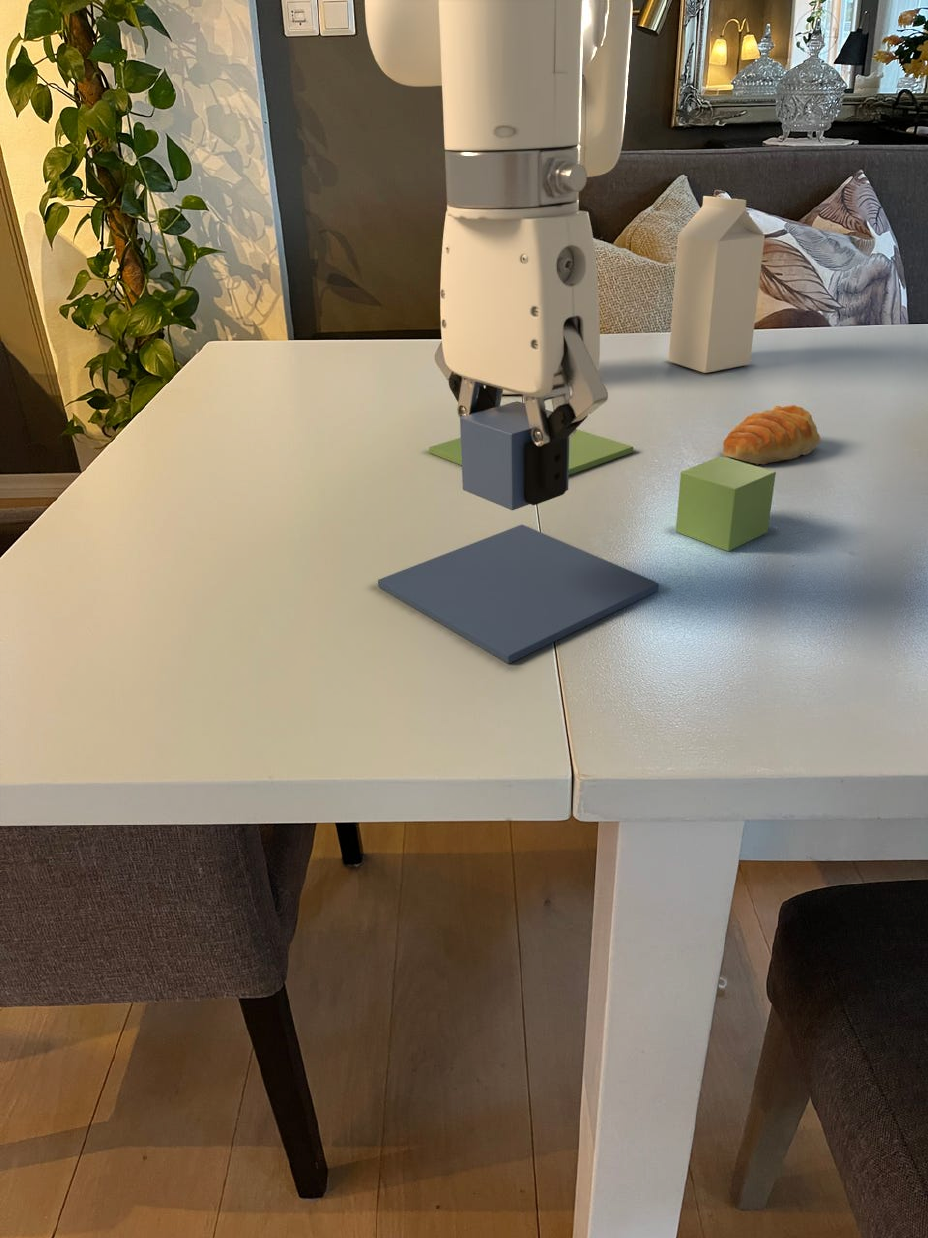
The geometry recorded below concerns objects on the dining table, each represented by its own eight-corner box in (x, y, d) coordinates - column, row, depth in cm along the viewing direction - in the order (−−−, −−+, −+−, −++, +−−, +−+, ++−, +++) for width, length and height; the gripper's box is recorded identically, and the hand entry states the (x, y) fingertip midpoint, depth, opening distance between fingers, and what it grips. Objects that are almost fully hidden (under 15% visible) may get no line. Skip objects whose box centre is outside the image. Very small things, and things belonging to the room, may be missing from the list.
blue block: (462, 490, 61) (459, 416, 59) (517, 471, 64) (517, 400, 62) (512, 510, 58) (511, 434, 56) (568, 490, 61) (570, 416, 58)
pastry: (763, 474, 82) (768, 433, 80) (702, 456, 87) (705, 417, 85) (823, 449, 87) (829, 410, 85) (762, 434, 92) (767, 396, 90)
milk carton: (705, 374, 111) (721, 202, 102) (667, 362, 117) (679, 198, 107) (750, 365, 114) (770, 197, 104) (711, 354, 119) (727, 193, 110)
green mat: (428, 452, 90) (428, 446, 90) (533, 420, 98) (533, 415, 98) (526, 490, 81) (526, 484, 80) (633, 452, 88) (633, 446, 88)
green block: (675, 531, 72) (680, 471, 70) (715, 514, 75) (721, 455, 72) (728, 551, 69) (735, 489, 66) (767, 532, 71) (776, 471, 69)
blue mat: (378, 587, 66) (377, 579, 66) (522, 530, 73) (522, 524, 73) (508, 664, 56) (508, 656, 56) (658, 590, 64) (659, 583, 64)
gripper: (674, 184, 48) (652, 507, 57) (467, 175, 60) (475, 444, 69) (573, 197, 44) (566, 542, 53) (372, 184, 56) (394, 469, 65)
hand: (515, 484), depth 61 cm, fingers closed on blue block, 5 cm apart
